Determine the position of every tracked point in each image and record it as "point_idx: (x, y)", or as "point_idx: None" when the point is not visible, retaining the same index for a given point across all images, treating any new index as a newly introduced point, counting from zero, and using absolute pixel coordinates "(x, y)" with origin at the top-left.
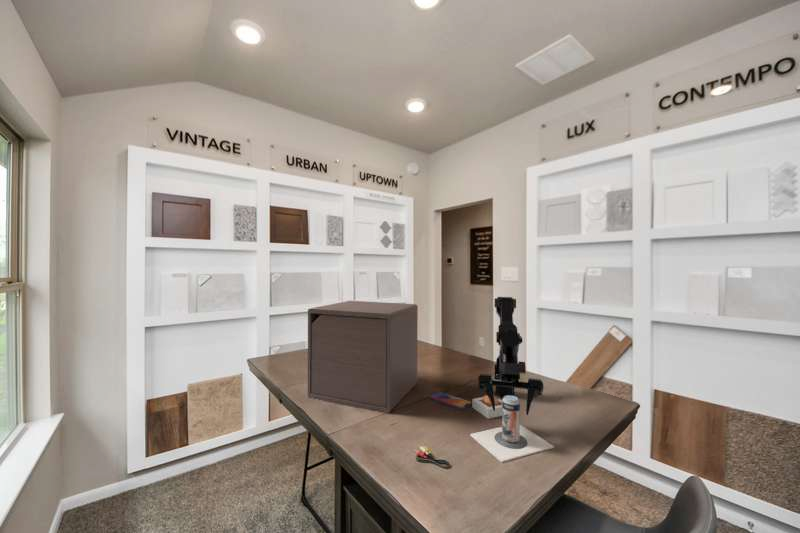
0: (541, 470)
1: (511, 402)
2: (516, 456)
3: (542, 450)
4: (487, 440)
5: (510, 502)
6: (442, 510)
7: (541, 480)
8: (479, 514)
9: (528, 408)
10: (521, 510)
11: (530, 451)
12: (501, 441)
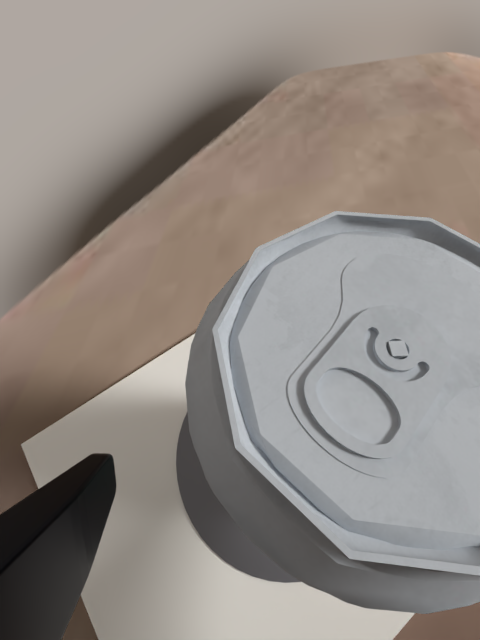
0: (166, 247)
1: (356, 227)
2: None
3: (109, 391)
4: None
5: (288, 118)
6: (441, 77)
7: (182, 201)
8: (358, 82)
9: (47, 492)
10: (263, 105)
11: (181, 352)
12: None
